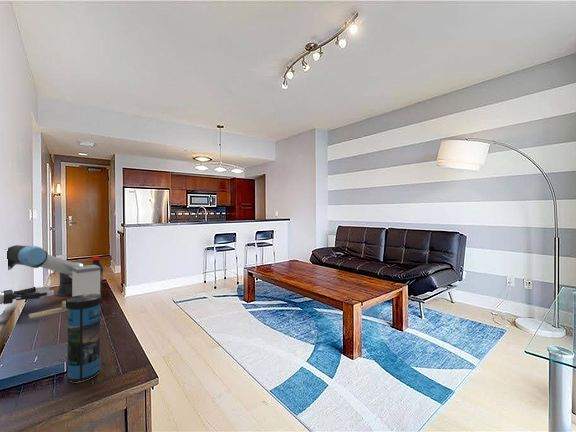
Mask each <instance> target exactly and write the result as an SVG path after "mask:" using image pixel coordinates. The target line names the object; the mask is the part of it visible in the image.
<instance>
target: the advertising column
mask: <svg viewBox="0 0 576 432" xmlns="http://www.w3.org/2000/svg"><path fill="white" fill-rule="evenodd" d="M65 301H66V308H67V309H68V311H67V381H68V380H69V381H72V382H78V381H83V380H86V379H89V378H91V377H93V376H95V375H96V374H97V373H98V372H99V371H100V372H101V304H102V303H103V296H102V295H101V294H83V295H77V296H74V297H72V296H70V297H68V298H67V299H66V300H65ZM100 372H99V373H100Z"/></svg>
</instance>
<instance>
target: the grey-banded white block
mask: <svg viewBox="0 0 576 432" xmlns="http://www.w3.org/2000/svg"><path fill="white" fill-rule="evenodd" d="M86 265H87V266H77V267H72V295H71V297H74V296H77V295H83V294H100V270H101V267H99V266H97V265H92V264H86Z"/></svg>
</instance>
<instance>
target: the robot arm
mask: <svg viewBox="0 0 576 432" xmlns="http://www.w3.org/2000/svg"><path fill="white" fill-rule="evenodd" d="M7 248H8V251H7V259H8V271H9V270H10V271H11V270H12V269H13V268H14V267H15V266H16V265H19V266H20V265H21V266H26V267H30V268H32V269H33V268H34V269H39V268H43V269H46V270H51V271H54V272H57V273H59V285H58V289H56V290H57V291H56V296H57V297H69V296H70V297H72V267H77V266H87V265H88V264H85V263H83V262H78V261H75V262H74V261H70V260H66V259H63V258H61V257H57V256H54V255H51V254H48V251H46V250H45V249H44V248H43V247H40V246H38V245H20V244H19V245H11V246H8V247H7ZM0 291H1V293H0V304H1V305H0V306H2V305H9V304H12V303H13V302H14V300H15V301H23V300H39V299H41V298H42V297H49V296H54V295H55V290H53V289H52V290H51V287H50V285H47V286H39V287H36V286H33V287H29V288H28V287H27V288H24V289H20V290H14V291H13V290H12V289H8V290H7V289H6V290H3V291H2V290H0Z"/></svg>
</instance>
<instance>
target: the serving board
mask: <svg viewBox="0 0 576 432" xmlns="http://www.w3.org/2000/svg"><path fill="white" fill-rule="evenodd" d="M63 312H68V309H67V308H66V300H62V301H61V307H57V308H53V309H47V310H42V311H37V312H32V313H28V318H29V319H34V318H39V317H44V316H49V315H53V314H57V313H63Z"/></svg>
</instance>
